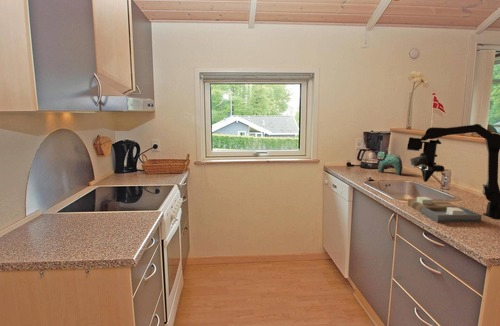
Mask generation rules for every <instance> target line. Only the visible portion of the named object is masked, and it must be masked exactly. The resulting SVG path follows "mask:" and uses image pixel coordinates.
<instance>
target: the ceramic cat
mask: <svg viewBox="0 0 500 326" xmlns="http://www.w3.org/2000/svg"><path fill="white" fill-rule="evenodd" d="M387 150H389V151H391V149H390V148H387V149H386V150H385V151H381V150H379V151H378V153H377V154H376V159H378V160H379V161H378V166H377V171H378V172H377V173H382V174H383V173H384V172H385V168H386V167H387V166H392V167H393V168H394V169H395V170H394V171H395V176H401V175H402V172H403V162H402V158H401V156H400V155H399V154H397V153H395V154H393V153H389V154H388V153H387V152H386V151H387Z"/></svg>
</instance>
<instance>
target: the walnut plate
mask: <svg viewBox="0 0 500 326" xmlns="http://www.w3.org/2000/svg"><path fill="white" fill-rule="evenodd" d="M407 206H409V207H411V208H413V209H414V210H416V211H417V212H420V213H421V209H422V207H426V208H427V209H429V210H447V207H454V208H460V206H458V205H455V204H453V203H450V202H449V201H446V200H443V199H432V204H421V203H419V202H417V199H407Z"/></svg>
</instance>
